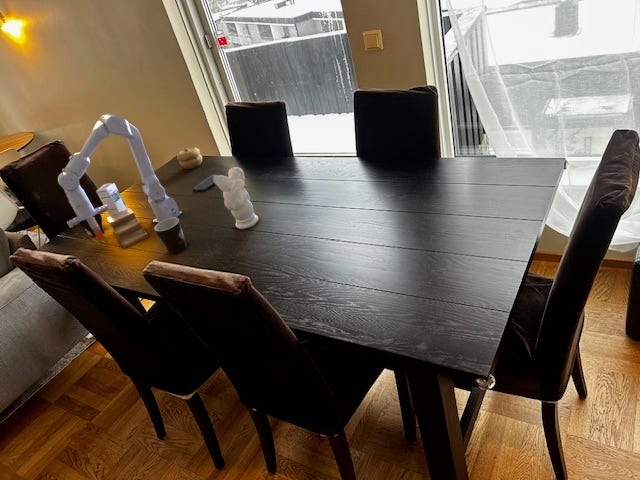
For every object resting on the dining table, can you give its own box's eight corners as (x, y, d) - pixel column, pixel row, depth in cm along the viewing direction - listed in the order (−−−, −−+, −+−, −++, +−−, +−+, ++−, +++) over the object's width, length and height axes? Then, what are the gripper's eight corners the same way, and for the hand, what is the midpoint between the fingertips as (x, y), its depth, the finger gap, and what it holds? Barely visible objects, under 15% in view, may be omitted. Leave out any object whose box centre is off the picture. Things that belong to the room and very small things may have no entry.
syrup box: (122, 218, 192) (106, 188, 184) (111, 220, 193) (95, 190, 186) (130, 212, 196) (114, 182, 189) (118, 213, 198) (103, 183, 190)
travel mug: (89, 238, 182) (63, 195, 172) (88, 232, 188) (63, 190, 177) (104, 232, 184) (80, 189, 174) (103, 226, 189) (79, 184, 179)
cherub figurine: (252, 213, 168) (233, 159, 156) (272, 220, 159) (253, 163, 148) (226, 229, 162) (204, 174, 150) (245, 237, 153) (224, 179, 142)
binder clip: (105, 238, 169) (99, 227, 166) (99, 241, 168) (92, 230, 165) (103, 234, 172) (97, 224, 170) (97, 237, 171) (91, 226, 169)
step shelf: (148, 237, 171) (141, 222, 168) (124, 248, 167) (116, 234, 164) (137, 221, 186) (130, 207, 183) (114, 231, 182) (106, 217, 179)
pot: (178, 173, 225) (170, 154, 220) (187, 163, 234) (180, 145, 229) (199, 169, 222) (191, 151, 217) (207, 160, 231) (200, 141, 226)
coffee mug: (177, 257, 153) (165, 232, 147) (161, 253, 157) (149, 229, 152) (200, 238, 160) (190, 214, 155) (184, 235, 165) (174, 212, 160)
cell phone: (224, 176, 206) (224, 174, 206) (205, 190, 197) (204, 189, 196) (213, 175, 210) (212, 174, 209) (193, 190, 200) (192, 188, 200)
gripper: (61, 215, 156) (81, 247, 163) (103, 197, 162) (120, 229, 169) (59, 209, 162) (78, 240, 169) (99, 192, 167) (116, 223, 174)
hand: (99, 234), depth 169 cm, fingers closed on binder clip, 2 cm apart
